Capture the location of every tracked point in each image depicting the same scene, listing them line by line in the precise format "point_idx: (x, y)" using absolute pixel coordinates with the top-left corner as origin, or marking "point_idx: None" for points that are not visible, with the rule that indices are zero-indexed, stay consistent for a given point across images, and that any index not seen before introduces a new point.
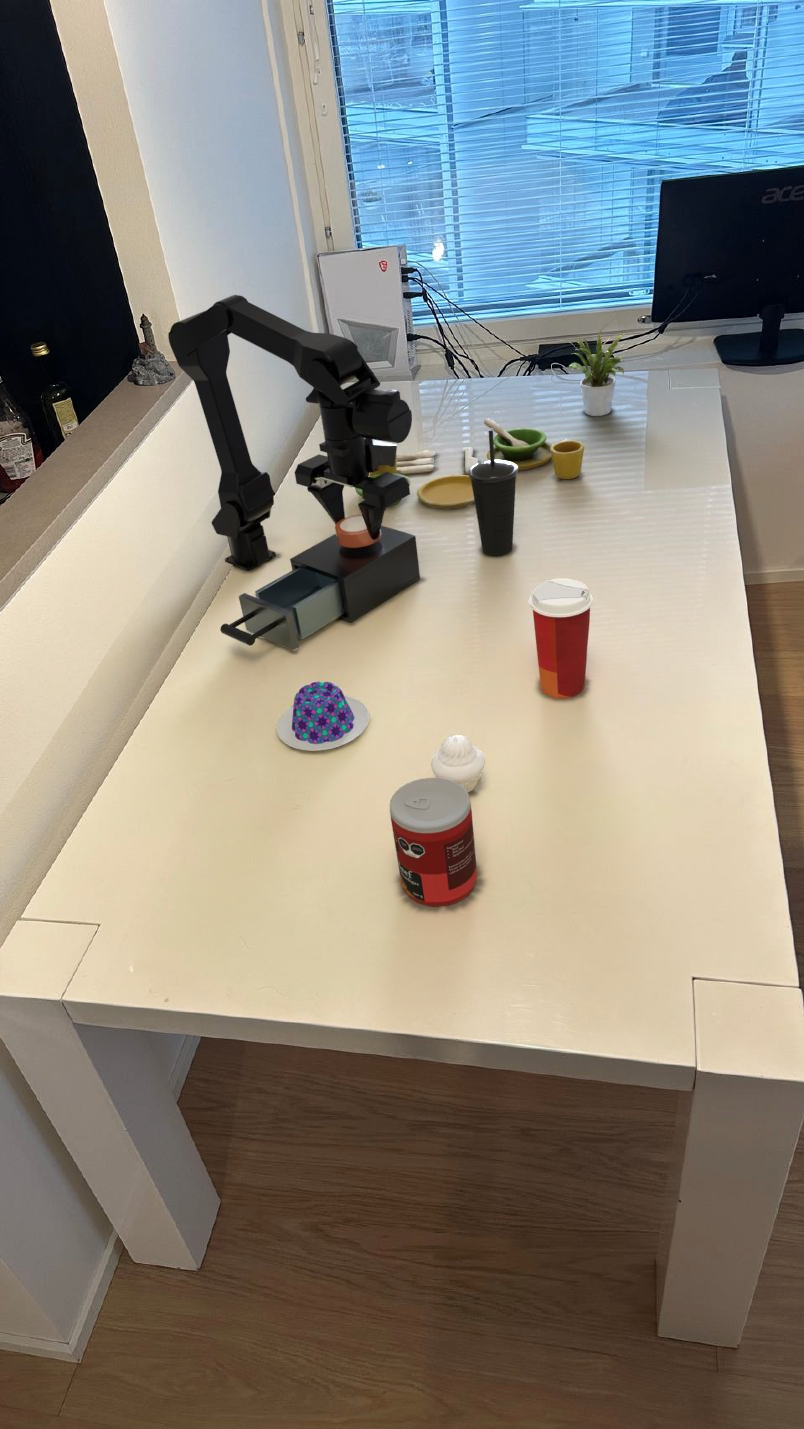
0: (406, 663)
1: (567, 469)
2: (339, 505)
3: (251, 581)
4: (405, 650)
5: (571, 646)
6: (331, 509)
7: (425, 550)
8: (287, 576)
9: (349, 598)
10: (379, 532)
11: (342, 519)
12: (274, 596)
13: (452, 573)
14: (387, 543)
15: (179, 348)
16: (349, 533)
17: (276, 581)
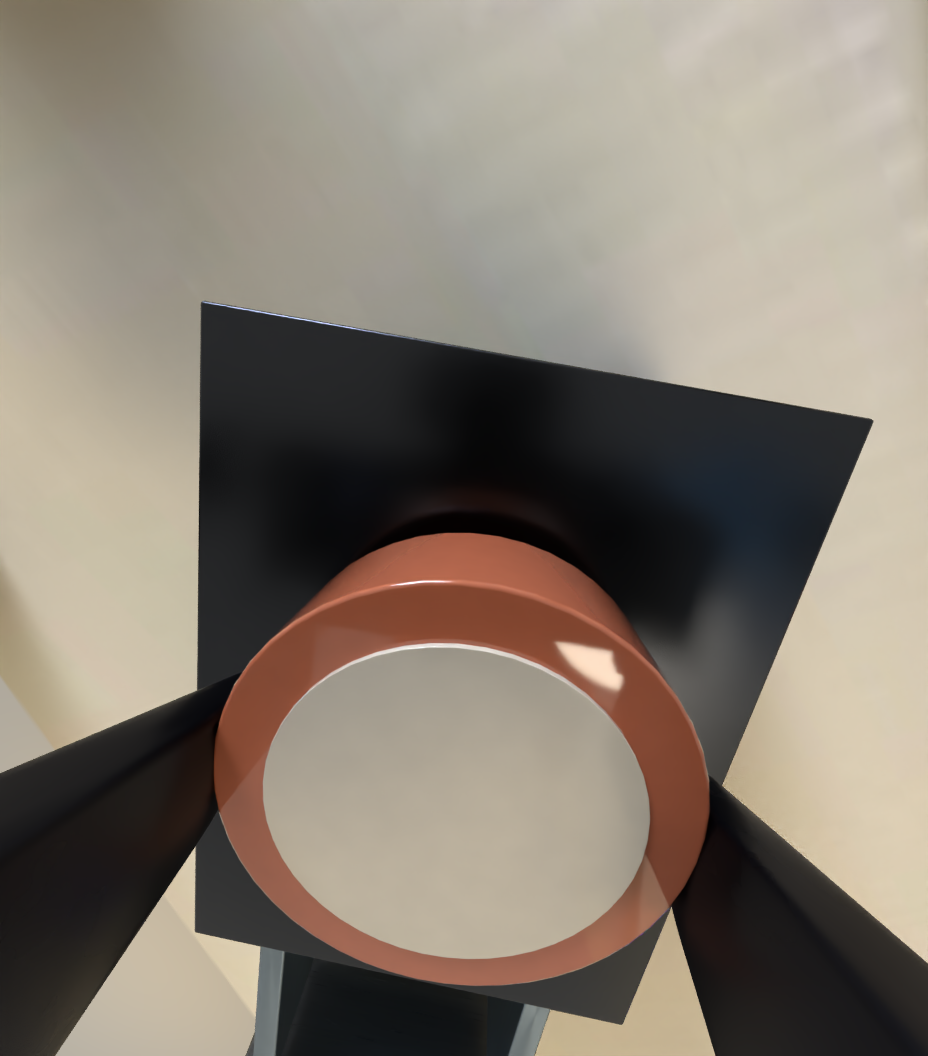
0: (871, 907)
1: None
2: (28, 928)
3: (49, 664)
4: (839, 856)
5: None
6: (38, 1048)
7: (561, 105)
8: (284, 962)
9: None
10: (733, 798)
11: (222, 764)
12: (303, 956)
13: (820, 296)
14: (680, 622)
15: None
16: (496, 972)
17: (274, 1009)
